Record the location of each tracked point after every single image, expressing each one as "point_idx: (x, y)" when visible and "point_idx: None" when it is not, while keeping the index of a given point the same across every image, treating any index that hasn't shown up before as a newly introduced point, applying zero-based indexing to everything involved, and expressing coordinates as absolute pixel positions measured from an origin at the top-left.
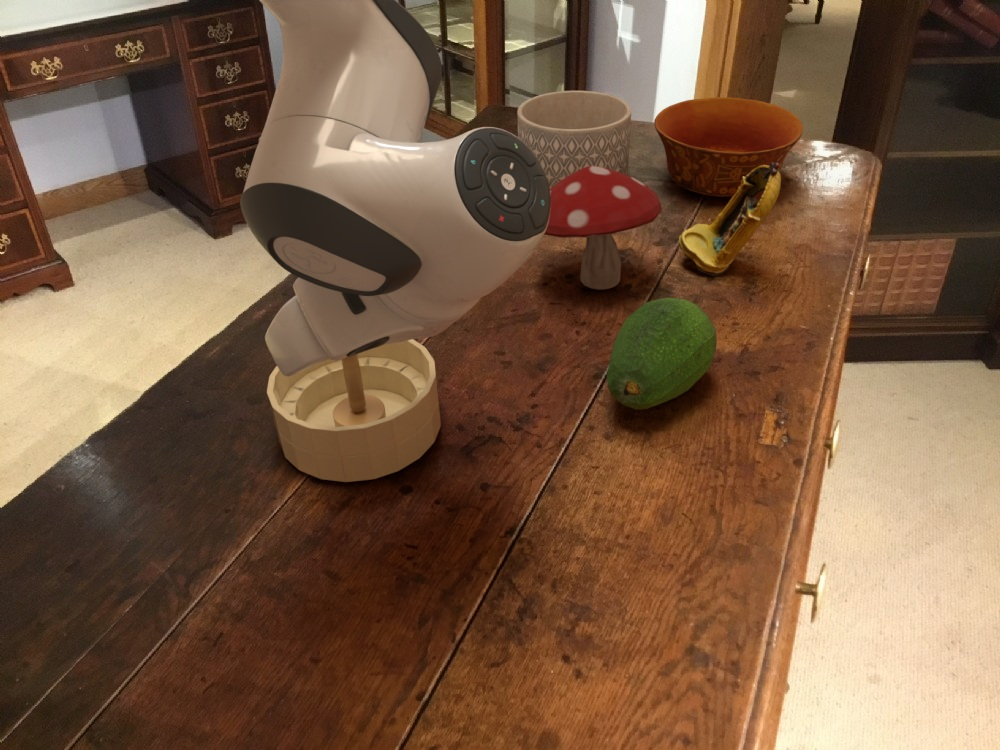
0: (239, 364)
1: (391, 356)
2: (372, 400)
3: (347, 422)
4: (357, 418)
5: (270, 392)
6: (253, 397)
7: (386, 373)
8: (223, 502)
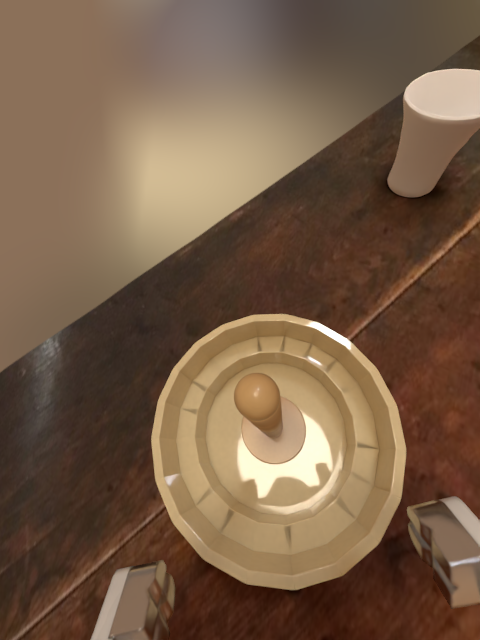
0: (198, 274)
1: (339, 360)
2: (294, 417)
3: (253, 445)
4: (266, 444)
5: (161, 403)
6: (192, 324)
7: (324, 376)
8: (112, 471)
